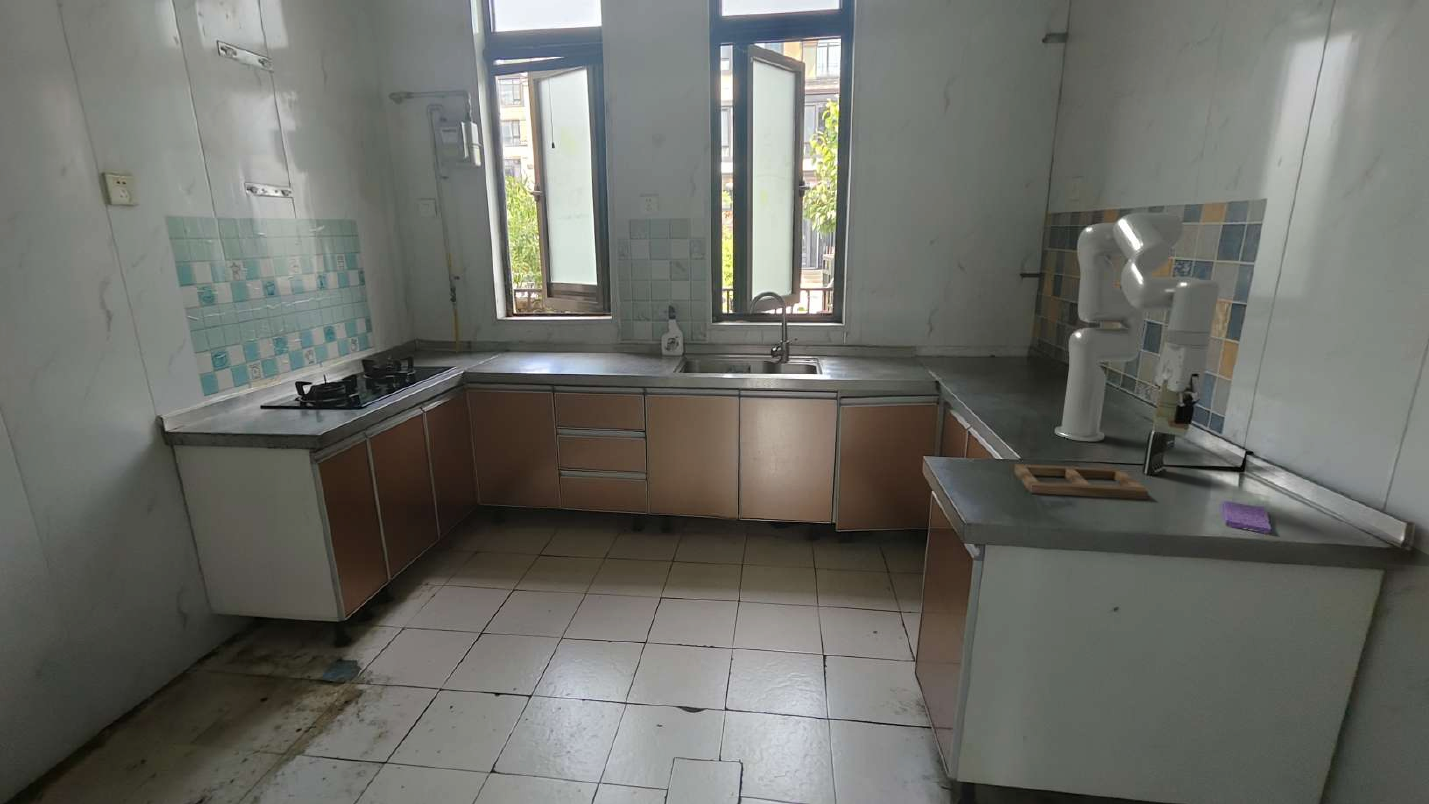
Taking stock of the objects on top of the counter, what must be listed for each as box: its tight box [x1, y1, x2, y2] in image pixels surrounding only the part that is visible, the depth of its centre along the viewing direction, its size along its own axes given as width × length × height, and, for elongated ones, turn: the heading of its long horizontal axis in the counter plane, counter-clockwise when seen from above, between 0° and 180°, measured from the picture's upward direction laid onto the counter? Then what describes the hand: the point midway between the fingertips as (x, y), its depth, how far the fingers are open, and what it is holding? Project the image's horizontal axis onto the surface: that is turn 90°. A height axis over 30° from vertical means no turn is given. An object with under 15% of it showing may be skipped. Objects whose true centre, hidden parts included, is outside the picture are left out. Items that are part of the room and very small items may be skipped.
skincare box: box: [1152, 378, 1192, 437], centre depth 139 cm, size 6×4×12 cm
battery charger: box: [1142, 428, 1176, 476], centre depth 154 cm, size 7×4×11 cm, turn 124°
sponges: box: [1222, 500, 1272, 533], centre depth 129 cm, size 7×13×2 cm, turn 143°
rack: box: [1013, 463, 1149, 500], centre depth 148 cm, size 14×24×2 cm, turn 80°
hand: (1173, 418), depth 139 cm, fingers closed on skincare box, 6 cm apart
